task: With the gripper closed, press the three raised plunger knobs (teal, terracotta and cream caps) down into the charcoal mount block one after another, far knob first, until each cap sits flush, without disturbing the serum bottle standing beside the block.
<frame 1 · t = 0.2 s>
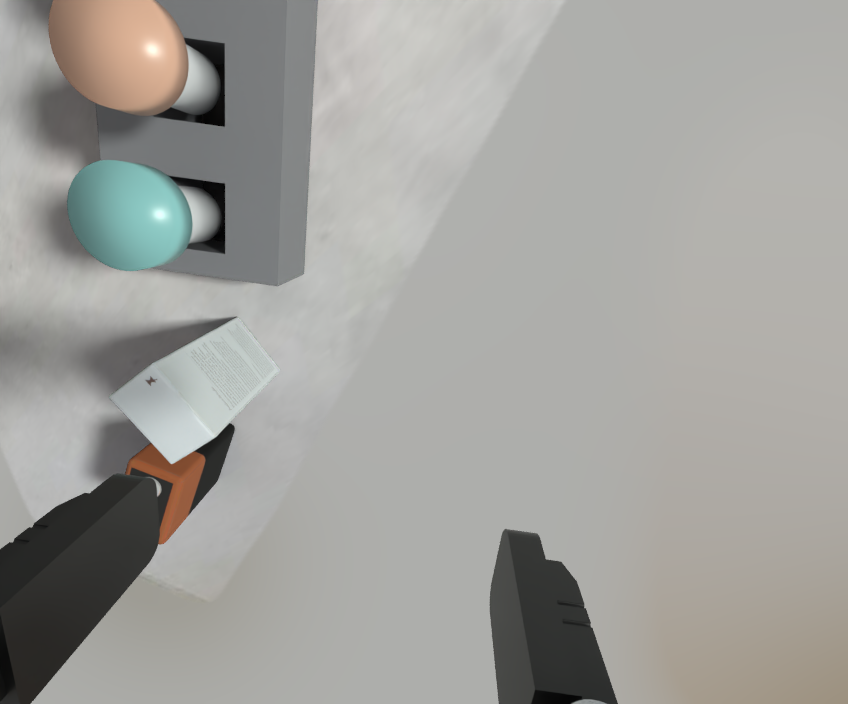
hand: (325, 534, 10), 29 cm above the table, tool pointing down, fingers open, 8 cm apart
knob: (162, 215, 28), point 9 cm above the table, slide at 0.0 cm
knob mid: (155, 65, 25), point 9 cm above the table, slide at 0.0 cm
battery: (207, 443, 43), on the table
mount: (232, 102, 34), on the table
skincare box: (244, 355, 40), on the table
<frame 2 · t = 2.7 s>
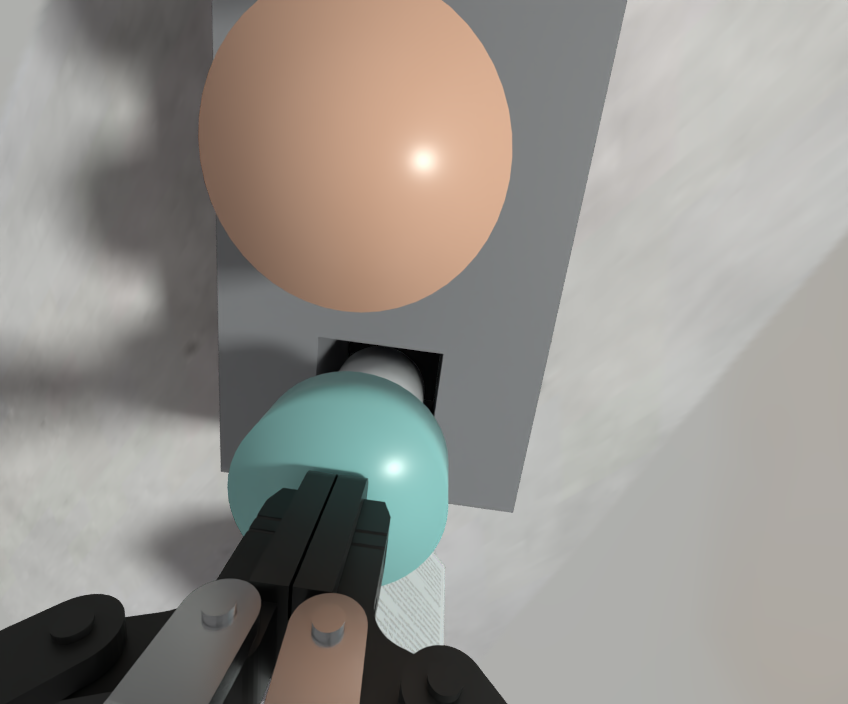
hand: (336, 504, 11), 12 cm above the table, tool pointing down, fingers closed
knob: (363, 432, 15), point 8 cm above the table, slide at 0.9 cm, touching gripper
knob mid: (383, 172, 12), point 9 cm above the table, slide at 0.0 cm
mount: (412, 185, 20), on the table
skincare box: (390, 545, 27), on the table
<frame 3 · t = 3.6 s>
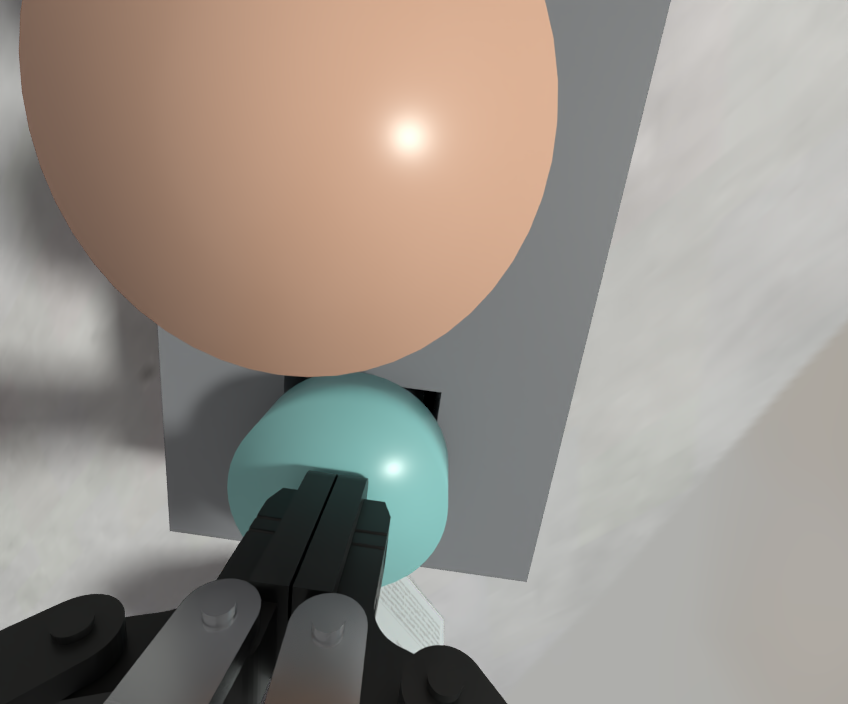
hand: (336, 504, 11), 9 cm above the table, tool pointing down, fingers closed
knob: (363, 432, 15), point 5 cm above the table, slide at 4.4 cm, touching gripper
knob mid: (355, 159, 8), point 9 cm above the table, slide at 0.0 cm
mount: (404, 182, 17), on the table
skincare box: (381, 594, 24), on the table
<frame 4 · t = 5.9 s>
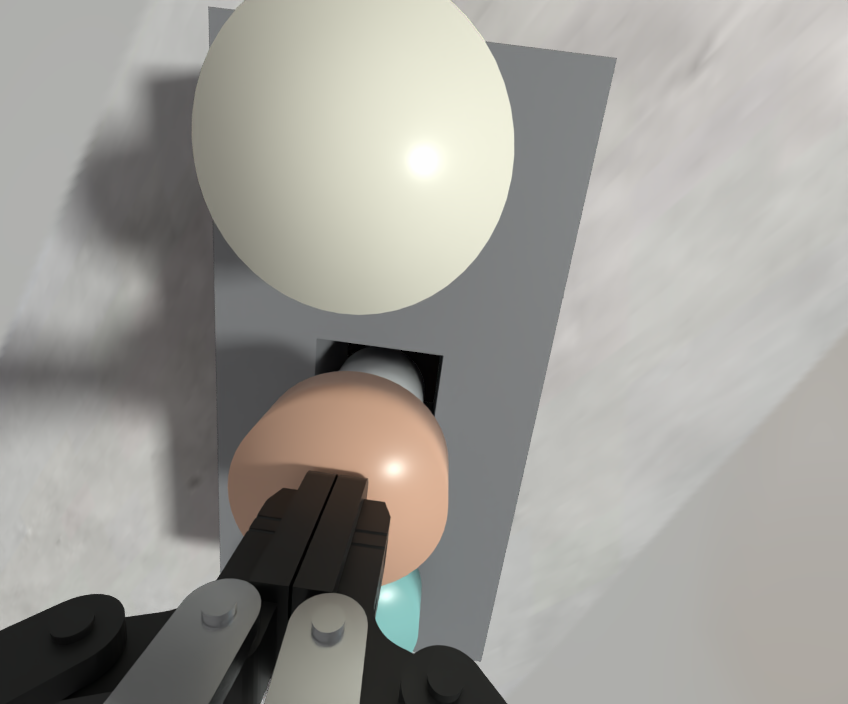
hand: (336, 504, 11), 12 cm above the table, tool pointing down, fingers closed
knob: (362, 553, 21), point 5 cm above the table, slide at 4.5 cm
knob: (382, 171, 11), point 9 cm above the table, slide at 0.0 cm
knob mid: (363, 431, 15), point 8 cm above the table, slide at 1.2 cm, touching gripper
mount: (393, 354, 23), on the table
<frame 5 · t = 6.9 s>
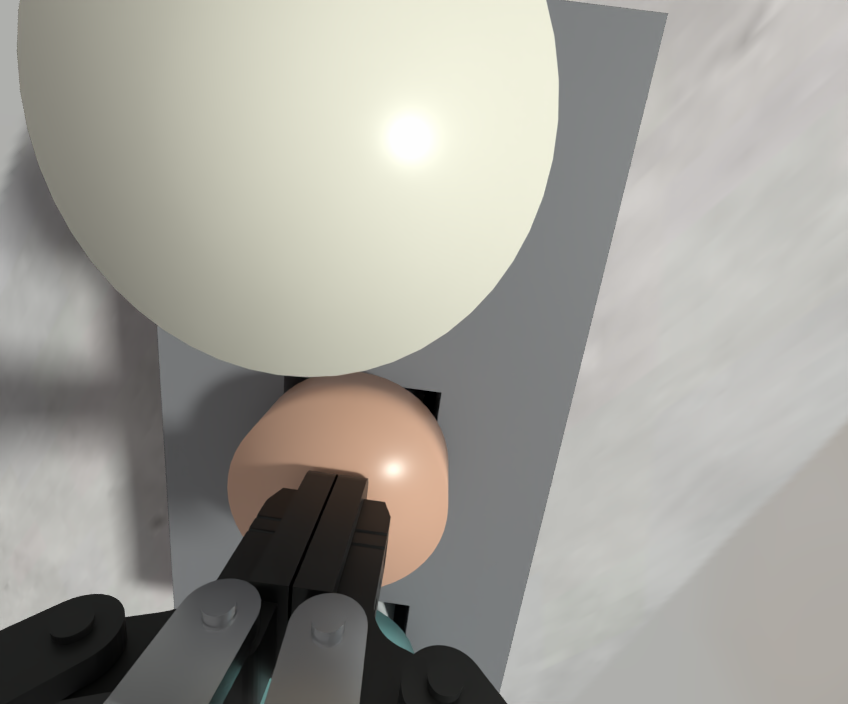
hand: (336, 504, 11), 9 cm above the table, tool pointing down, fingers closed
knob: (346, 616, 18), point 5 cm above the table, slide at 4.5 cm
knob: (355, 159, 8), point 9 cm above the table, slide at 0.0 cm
knob mid: (363, 432, 15), point 5 cm above the table, slide at 4.5 cm, touching gripper
mount: (383, 379, 20), on the table
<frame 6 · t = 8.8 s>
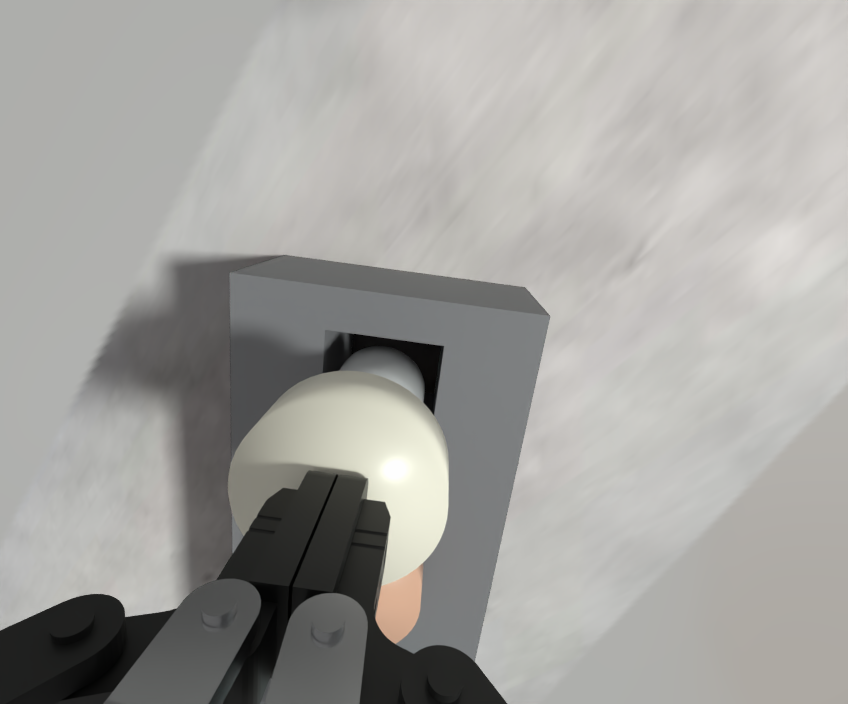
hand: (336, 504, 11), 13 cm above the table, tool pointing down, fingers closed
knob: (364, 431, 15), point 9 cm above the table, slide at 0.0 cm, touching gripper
knob mid: (367, 535, 22), point 5 cm above the table, slide at 4.5 cm
mount: (381, 478, 26), on the table
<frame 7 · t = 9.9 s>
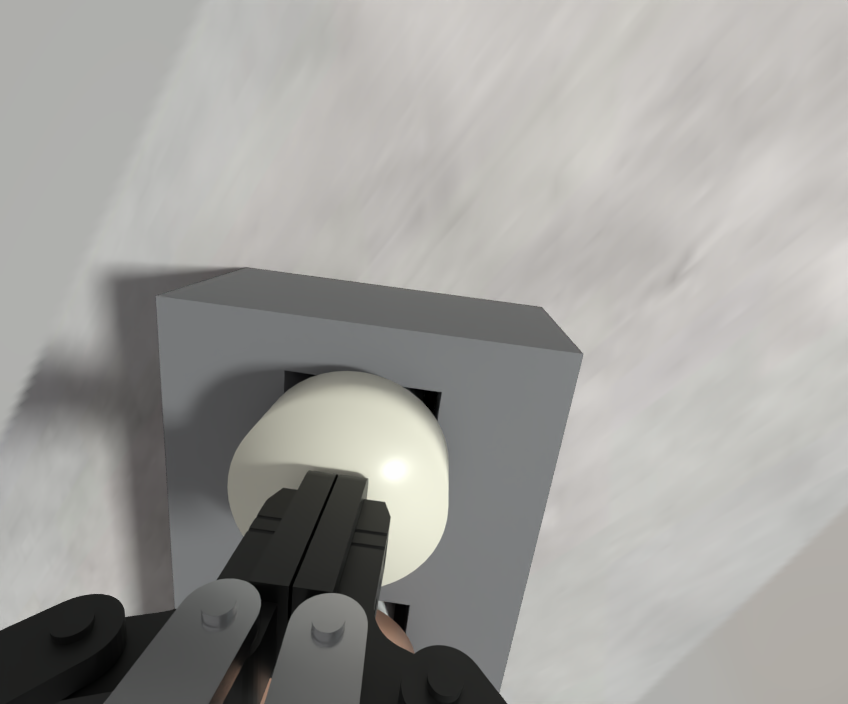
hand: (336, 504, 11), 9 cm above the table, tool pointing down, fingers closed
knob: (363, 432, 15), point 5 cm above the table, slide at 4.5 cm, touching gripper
knob mid: (346, 616, 18), point 5 cm above the table, slide at 4.5 cm
mount: (368, 531, 22), on the table
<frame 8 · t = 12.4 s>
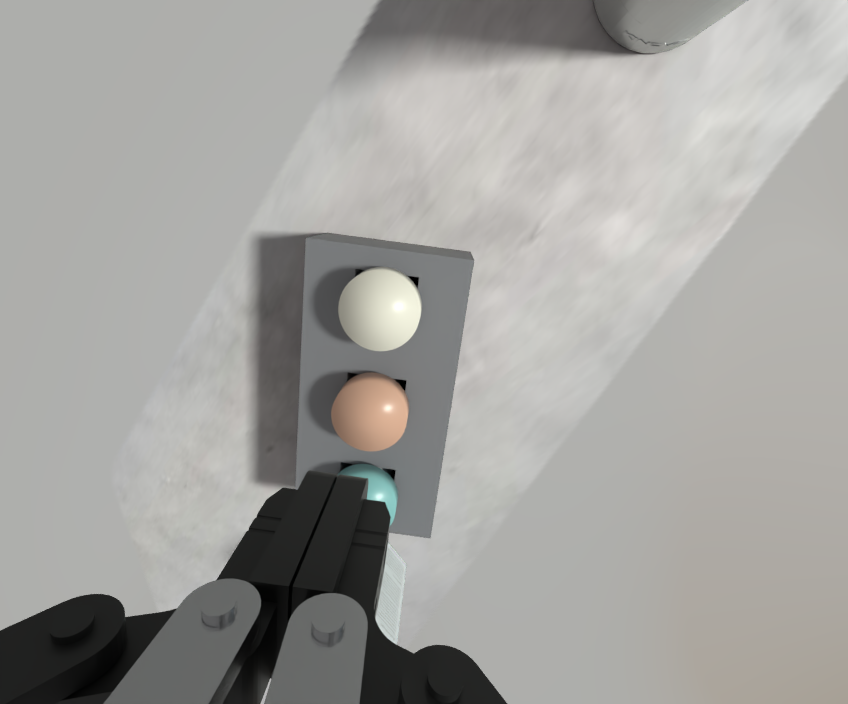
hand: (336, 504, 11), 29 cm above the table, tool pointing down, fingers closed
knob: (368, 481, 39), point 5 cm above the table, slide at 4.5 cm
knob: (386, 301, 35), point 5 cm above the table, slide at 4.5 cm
knob mid: (376, 397, 37), point 5 cm above the table, slide at 4.5 cm
mount: (384, 376, 42), on the table
skincare box: (376, 552, 48), on the table
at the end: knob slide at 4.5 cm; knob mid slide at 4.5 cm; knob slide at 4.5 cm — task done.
